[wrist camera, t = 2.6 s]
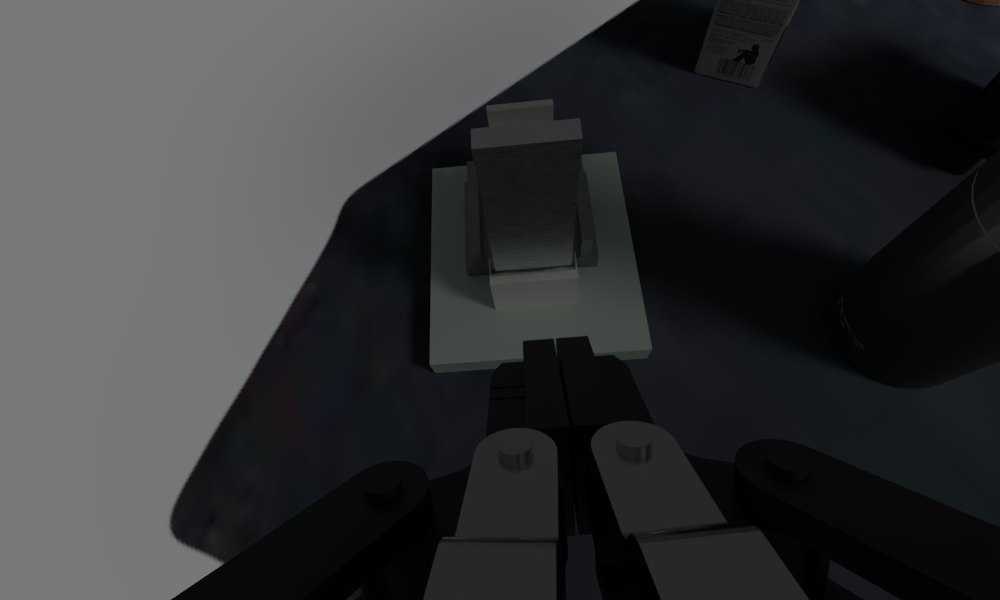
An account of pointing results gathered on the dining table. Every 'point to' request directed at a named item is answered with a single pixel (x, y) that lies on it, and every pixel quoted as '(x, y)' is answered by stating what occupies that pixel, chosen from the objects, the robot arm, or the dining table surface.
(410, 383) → the dining table surface
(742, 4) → the coffee box
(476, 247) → the heat sink
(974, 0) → the pepper shaker
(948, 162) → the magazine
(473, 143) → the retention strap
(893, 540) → the robot arm
